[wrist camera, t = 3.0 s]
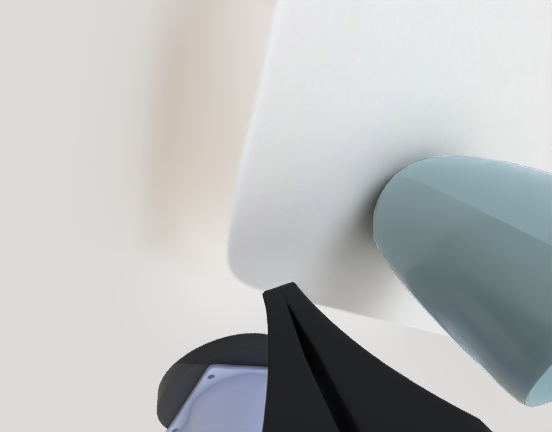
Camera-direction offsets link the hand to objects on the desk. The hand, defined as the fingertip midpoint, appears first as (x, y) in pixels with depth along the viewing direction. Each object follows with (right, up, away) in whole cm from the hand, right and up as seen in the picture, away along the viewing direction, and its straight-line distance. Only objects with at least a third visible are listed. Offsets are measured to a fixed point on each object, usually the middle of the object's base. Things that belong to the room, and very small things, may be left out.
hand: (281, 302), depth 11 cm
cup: (+8, +5, +6) cm, 11 cm away
